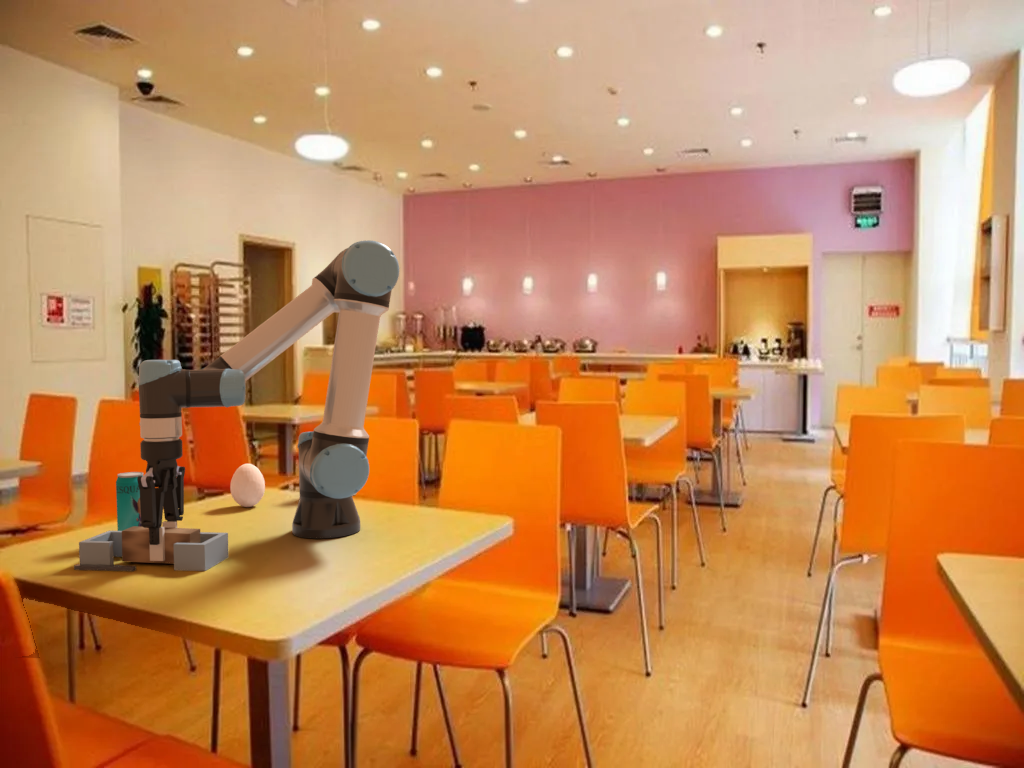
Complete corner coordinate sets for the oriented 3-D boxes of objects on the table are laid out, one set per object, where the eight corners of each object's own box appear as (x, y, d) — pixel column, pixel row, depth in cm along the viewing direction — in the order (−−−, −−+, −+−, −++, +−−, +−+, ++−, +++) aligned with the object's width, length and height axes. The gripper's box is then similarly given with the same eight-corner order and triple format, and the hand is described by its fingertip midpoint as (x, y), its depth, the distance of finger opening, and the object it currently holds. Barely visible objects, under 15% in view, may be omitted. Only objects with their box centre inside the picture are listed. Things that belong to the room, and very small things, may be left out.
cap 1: (138, 555, 164) (137, 531, 164) (110, 568, 155) (109, 542, 154) (110, 554, 165) (109, 530, 164) (79, 567, 155) (78, 542, 155)
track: (167, 554, 165) (167, 550, 165) (133, 571, 153) (133, 567, 153) (112, 553, 166) (112, 549, 166) (74, 569, 154) (73, 565, 154)
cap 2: (228, 557, 162) (227, 532, 162) (205, 570, 152) (204, 544, 152) (199, 556, 163) (198, 532, 162) (174, 570, 153) (173, 544, 153)
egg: (238, 503, 216) (237, 461, 216) (270, 503, 216) (269, 461, 215) (225, 510, 208) (224, 466, 207) (258, 510, 207) (257, 466, 207)
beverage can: (135, 546, 172) (133, 476, 171) (112, 544, 173) (109, 475, 172) (152, 539, 177) (150, 471, 176) (129, 538, 178) (127, 471, 178)
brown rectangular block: (200, 558, 160) (200, 528, 159) (190, 564, 156) (189, 533, 155) (134, 555, 161) (133, 526, 161) (122, 561, 157) (121, 530, 157)
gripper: (166, 433, 166) (169, 545, 167) (117, 443, 149) (120, 568, 150) (201, 434, 165) (203, 546, 166) (155, 444, 148) (158, 569, 149)
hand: (164, 556), depth 158 cm, fingers closed on brown rectangular block, 4 cm apart
